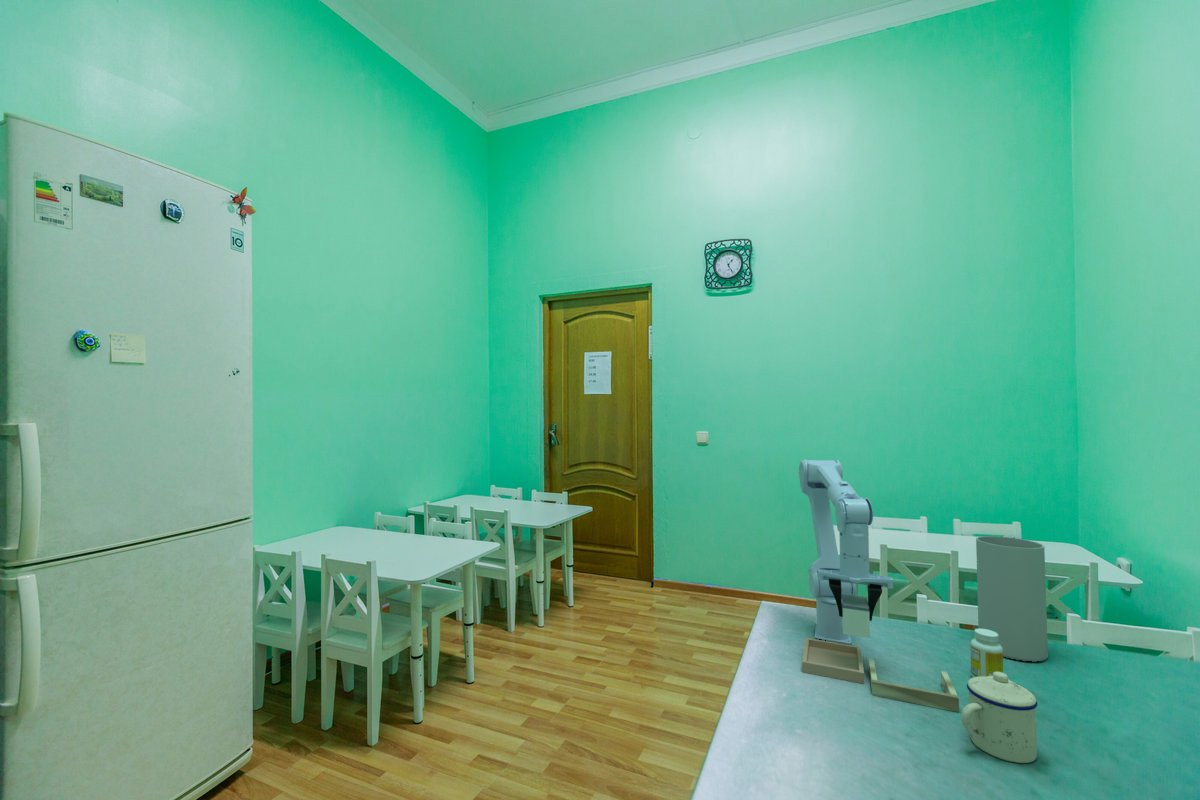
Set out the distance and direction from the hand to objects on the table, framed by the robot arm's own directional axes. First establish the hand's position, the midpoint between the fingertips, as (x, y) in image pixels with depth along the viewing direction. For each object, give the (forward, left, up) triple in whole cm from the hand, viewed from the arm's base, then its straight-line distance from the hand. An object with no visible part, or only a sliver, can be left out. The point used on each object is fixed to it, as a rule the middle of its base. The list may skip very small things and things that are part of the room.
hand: (855, 617), depth 112 cm
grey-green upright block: (0, 0, -2) cm, 3 cm away
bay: (+6, +9, -10) cm, 15 cm away
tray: (+1, -5, -10) cm, 11 cm away
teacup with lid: (+22, +19, -11) cm, 31 cm away
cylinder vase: (-24, +33, -11) cm, 43 cm away
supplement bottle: (-5, +24, -11) cm, 27 cm away
